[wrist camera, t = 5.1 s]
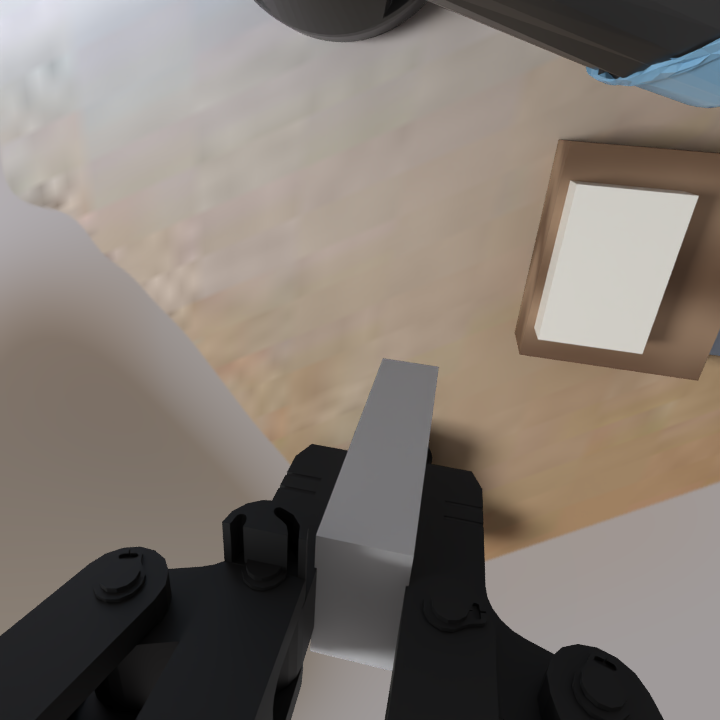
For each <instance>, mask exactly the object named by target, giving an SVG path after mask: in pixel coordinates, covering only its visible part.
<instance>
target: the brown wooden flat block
mask: <svg viewBox="0 0 720 720" xmlns="http://www.w3.org/2000/svg"><path fill="white" fill-rule="evenodd" d="M570 181H581V182H591V183H601V184H612V185H622V186H633V187H643V188H654V189H664V190H675V191H684V192H688V193H691V194H694V195H698V196H699V197H698V200H697V202H696V205H695V208H694V211H693V214H692V216H691V219H690V222H689V225H688V228H687V230H686V233H685V236H684V239H683V242H682V244H681V247H680V250H679V253H678V256H677V258H676V261H675V264H674V267H673V270H672V272H671V275H670V278H669V281H668V284H667V287H666V289H665V292H664V295H663V298H662V301H661V303H660V306H659V309H658V312H657V315H656V317H655V320H654V323H653V326H652V329H651V331H650V334H649V337H648V340H647V343H646V345H645V348H644V351H643V354H638V353H631V352H624V351H617V350H609V349H602V348H595V347H588V346H581V345H574V344H567V343H560V342H553V341H546V340H539V339H538V338H537V335H536V332H535V329H534V326H535V322H536V318H537V314H538V310H539V306H540V302H541V298H542V294H543V290H544V286H545V282H546V277H547V273H548V269H549V265H550V261H551V257H552V253H553V249H554V245H555V241H556V237H557V233H558V229H559V224H560V220H561V216H562V212H563V208H564V204H565V200H566V196H567V192H568V188H569V184H570ZM719 330H720V153H711V152H699V151H688V150H676V149H664V148H652V147H640V146H628V145H616V144H604V143H592V142H580V141H569V140H559V141H558V145H557V150H556V154H555V158H554V163H553V167H552V172H551V176H550V180H549V185H548V189H547V194H546V198H545V202H544V207H543V211H542V215H541V220H540V224H539V229H538V233H537V237H536V242H535V246H534V251H533V255H532V259H531V264H530V268H529V273H528V277H527V281H526V286H525V290H524V295H523V299H522V303H521V308H520V312H519V316H518V321H517V325H516V330H515V335H516V340H517V345H518V349H519V354H520V355H527V356H534V357H541V358H547V359H554V360H561V361H568V362H575V363H581V364H588V365H595V366H602V367H609V368H616V369H622V370H629V371H636V372H643V373H650V374H656V375H663V376H670V377H677V378H684V379H691V380H697V381H698V380H699V377H700V375H701V372H702V370H703V368H704V365H705V363H706V361H707V358H708V356H709V353H710V351H711V349H712V346H713V344H714V342H715V339H716V337H717V334H718V332H719Z"/></svg>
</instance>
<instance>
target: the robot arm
mask: <svg viewBox="0 0 720 720" xmlns="http://www.w3.org/2000/svg"><path fill="white" fill-rule="evenodd" d="M254 1H255V2H256V3H257V4H258V5H259V6H260V7H261V8H262V9H264V10H265V11H266V12H267V13H268V14H270V15H271V16H272V17H274V18H275V19H277V20H278V21H280V22H282V23H283V24H285V25H287V26H289V27H290V28H292V29H294V30H296V31H298V32H300V33H302V34H305V35H307V36H310V37H313V38H316V39H320V40H325V41H333V42H351V41H359V40H364V39H368V38H372V37H374V36H377V35H380V34H382V33H385V32H387V31H389V30H391V29H393V28H395V27H396V26H398V25H400V24H401V23H403V22H404V21H406V20H407V19H408V18H410V17H411V16H412V15H413V14H415V13H416V12H417V11H418V10H419V9H420V8H421V7H422V6H423V5H424V4H425V3H426V2H427V1H429V2H432V3H434V4H436V5H439V6H441V7H444V8H446V9H448V10H451V11H453V12H456V13H458V14H461V15H463V16H465V17H468V18H470V19H473V20H475V21H477V22H480V23H482V24H485V25H487V26H490V27H492V28H494V29H497V30H499V31H502V32H504V33H507V34H509V35H511V36H514V37H516V38H519V39H521V40H523V41H526V42H528V43H531V44H533V45H536V46H538V47H540V48H543V49H545V50H548V51H550V52H553V53H555V54H557V55H560V56H562V57H565V58H567V59H569V60H572V61H574V62H577V63H579V64H582V65H584V66H586V69H587V72H588V74H589V75H590V76H592V77H593V78H595V79H597V80H598V81H601V82H603V83H605V84H609V85H624V86H637V87H639V88H642V89H645V90H648V91H651V92H653V93H656V94H659V95H662V96H665V97H667V98H670V99H673V100H676V101H679V102H681V103H684V104H687V105H691V106H695V107H703V108H713V107H720V0H254ZM438 368H439V367H437V366H430V365H424V364H417V363H410V362H404V361H397V360H391V359H384V358H383V360H382V362H381V365H380V368H379V370H378V373H377V376H376V378H375V381H374V384H373V386H372V389H371V391H370V394H369V397H368V399H367V402H366V405H365V407H364V410H363V413H362V415H361V418H360V421H359V423H358V426H357V428H356V431H355V434H354V436H353V439H352V442H351V444H350V447H349V450H348V451H347V450H342V449H337V448H331V447H326V446H320V445H315V444H311V445H310V446H309V447H307V448H306V449H304V450H303V451H302V452H300V453H299V454H298V455H296V456H295V458H294V460H293V462H292V464H291V466H290V468H289V470H288V471H287V475H285V477H284V479H283V481H282V483H281V485H280V488H279V489H278V490H277V492H276V494H275V496H274V498H273V500H272V501H267V500H261V501H257V502H252V503H247V504H245V505H244V506H241V507H239V508H238V509H236V510H234V511H232V512H231V513H230V514H229V515H228V517H227V518H226V519H225V520H224V521H223V522H222V525H223V540H224V541H223V542H224V559H225V561H224V562H220V563H217V564H215V565H209V566H203V567H192V568H178V569H177V568H176V569H168V568H167V564H166V561H165V559H164V558H163V557H162V556H161V555H160V554H158V553H157V552H156V551H154V550H151V549H147V548H143V547H130V548H122V549H118V550H116V551H112V552H109V553H107V554H104V555H103V556H101V557H100V558H98V559H97V560H95V561H93V562H92V563H90V564H89V565H87V566H86V567H85V568H84V569H82V570H81V571H80V572H79V573H78V574H76V575H75V576H74V577H73V578H71V579H70V580H69V581H68V582H66V583H65V584H64V585H63V586H61V587H60V588H59V589H58V590H57V591H55V592H54V593H53V594H52V595H50V596H49V597H48V598H47V599H45V600H44V601H43V602H42V603H41V604H39V605H38V606H37V607H36V608H35V609H33V610H32V611H31V612H29V613H28V614H27V615H26V616H25V617H23V618H22V619H21V620H19V621H18V622H17V623H16V624H15V625H13V626H12V627H11V628H10V629H8V630H7V631H6V632H5V633H3V634H2V635H1V636H0V720H291V717H292V714H293V711H294V707H295V704H296V700H297V697H298V694H299V690H300V687H301V682H302V673H303V661H304V658H305V655H306V651H307V648H308V645H309V642H310V639H311V648H310V651H313V652H317V653H321V654H325V655H329V656H333V657H337V658H342V659H346V660H350V661H353V662H358V663H362V664H366V665H370V666H374V667H378V668H382V669H386V670H390V671H392V678H391V685H390V691H389V697H388V703H387V709H386V715H385V720H664V719H663V717H662V715H661V714H660V712H659V710H658V708H657V706H656V704H655V702H654V701H653V699H652V697H651V695H650V693H649V692H648V690H647V689H646V688H645V686H644V685H643V684H642V682H641V681H640V679H639V678H638V677H637V675H636V674H635V673H634V672H633V671H632V670H631V669H629V668H628V667H627V666H626V665H625V664H624V663H622V662H621V661H620V660H619V659H618V658H616V657H614V656H612V655H610V654H608V653H607V652H605V651H602V650H600V649H598V648H596V647H590V646H585V645H580V644H576V645H571V646H566V647H562V648H561V649H560V650H559V651H558V652H556V653H555V654H553V653H551V652H549V651H547V650H545V649H543V648H541V647H540V646H538V645H536V644H534V643H532V642H530V641H528V640H526V639H525V638H523V637H522V636H520V635H518V634H517V633H515V632H514V631H512V630H511V629H510V628H509V627H508V626H507V625H506V624H505V623H504V622H503V621H501V619H500V618H499V617H498V615H497V614H496V613H495V611H494V610H493V609H492V606H491V604H490V602H489V600H488V598H487V593H486V587H485V559H484V529H483V511H482V509H483V499H482V488H481V486H480V485H479V483H478V481H477V480H476V478H475V476H474V475H473V473H472V472H471V471H466V470H460V469H455V468H449V467H444V466H438V465H433V464H427V463H426V459H427V451H428V444H429V436H430V429H431V421H432V414H433V406H434V398H435V391H436V383H437V376H438Z"/></svg>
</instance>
